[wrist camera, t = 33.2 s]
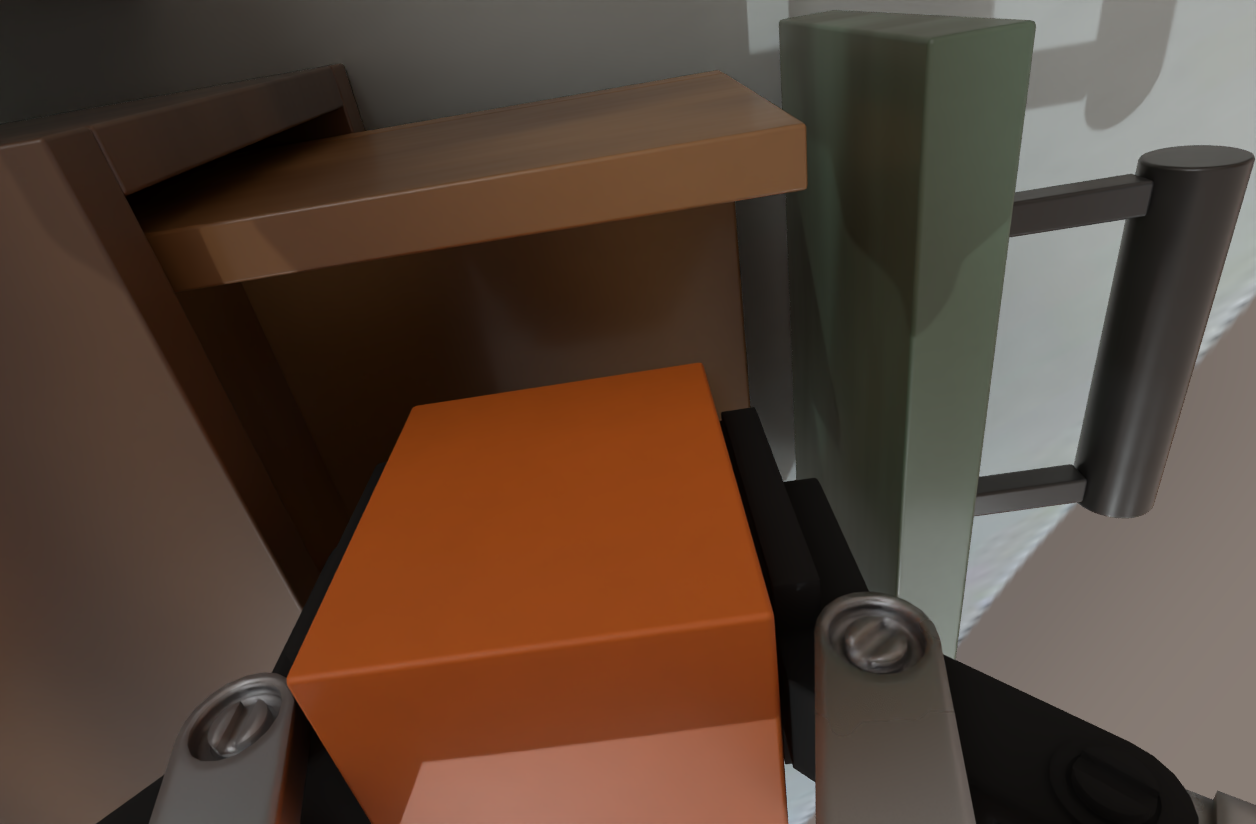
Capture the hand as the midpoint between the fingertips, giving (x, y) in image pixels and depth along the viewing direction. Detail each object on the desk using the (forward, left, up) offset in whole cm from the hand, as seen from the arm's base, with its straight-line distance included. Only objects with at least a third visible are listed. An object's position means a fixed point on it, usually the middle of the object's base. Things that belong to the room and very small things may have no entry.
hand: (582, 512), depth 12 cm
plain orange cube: (0, 0, 0) cm, 0 cm away
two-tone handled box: (0, -2, -7) cm, 7 cm away
